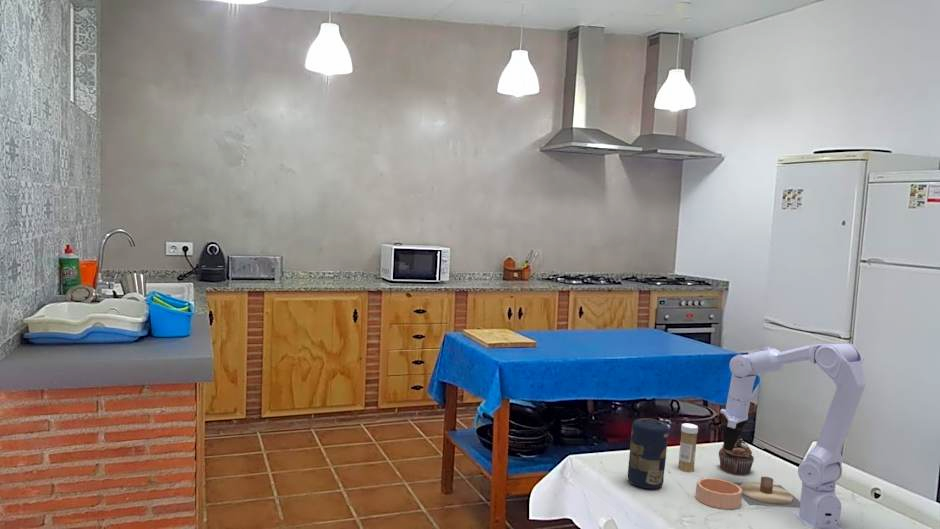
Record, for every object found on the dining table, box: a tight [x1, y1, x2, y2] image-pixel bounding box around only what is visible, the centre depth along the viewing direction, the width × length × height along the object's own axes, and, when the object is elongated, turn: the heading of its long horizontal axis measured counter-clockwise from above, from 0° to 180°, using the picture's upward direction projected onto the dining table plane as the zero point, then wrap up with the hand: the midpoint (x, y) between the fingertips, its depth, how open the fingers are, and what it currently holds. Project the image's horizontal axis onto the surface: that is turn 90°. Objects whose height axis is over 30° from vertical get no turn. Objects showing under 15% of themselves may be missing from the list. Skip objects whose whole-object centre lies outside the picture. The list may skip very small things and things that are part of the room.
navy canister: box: [627, 417, 670, 489], centre depth 191 cm, size 10×10×18 cm
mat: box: [732, 481, 800, 509], centre depth 188 cm, size 15×15×1 cm
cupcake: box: [718, 437, 755, 476], centre depth 206 cm, size 10×10×10 cm
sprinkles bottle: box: [677, 422, 699, 473], centre depth 203 cm, size 5×5×13 cm
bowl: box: [695, 477, 743, 510], centre depth 182 cm, size 11×11×4 cm
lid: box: [740, 476, 794, 505], centre depth 188 cm, size 13×13×4 cm
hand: (730, 445), depth 194 cm, fingers open, 7 cm apart
